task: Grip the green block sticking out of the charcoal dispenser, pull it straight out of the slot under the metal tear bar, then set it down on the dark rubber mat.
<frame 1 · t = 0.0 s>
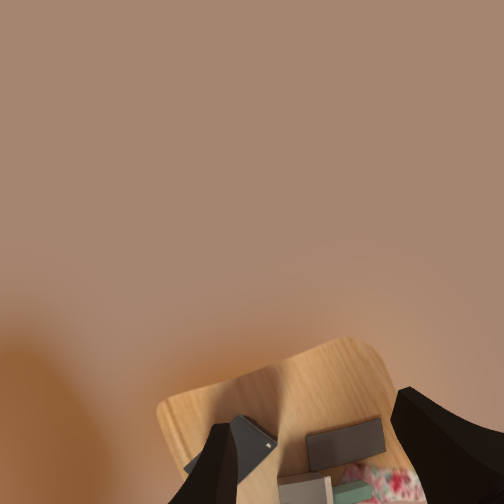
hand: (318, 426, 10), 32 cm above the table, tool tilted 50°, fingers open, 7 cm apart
green block: (329, 493, 28), resting in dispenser
small box: (239, 450, 34), on the table
mat: (346, 445, 33), on the table
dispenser: (300, 500, 28), on the table
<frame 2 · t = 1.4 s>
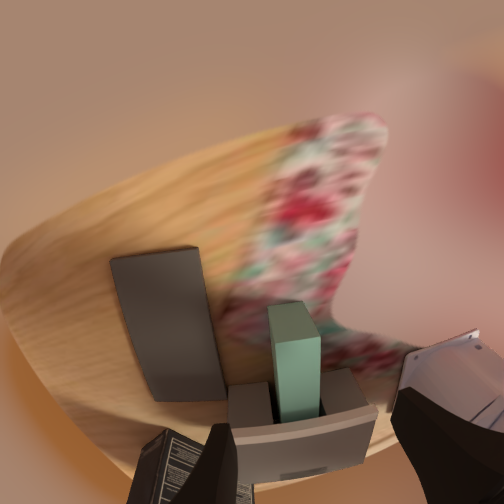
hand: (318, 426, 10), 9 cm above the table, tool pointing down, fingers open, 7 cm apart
green block: (288, 362, 20), resting in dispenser
small box: (196, 458, 23), on the table
mat: (172, 335, 19), on the table
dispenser: (291, 404, 21), on the table
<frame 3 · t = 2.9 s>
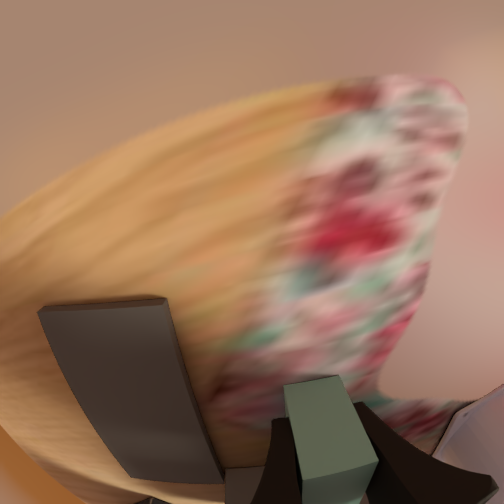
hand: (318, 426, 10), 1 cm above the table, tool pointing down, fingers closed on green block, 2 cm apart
green block: (310, 445, 12), resting in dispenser, touching gripper
mat: (141, 415, 11), on the table
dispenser: (308, 480, 13), on the table
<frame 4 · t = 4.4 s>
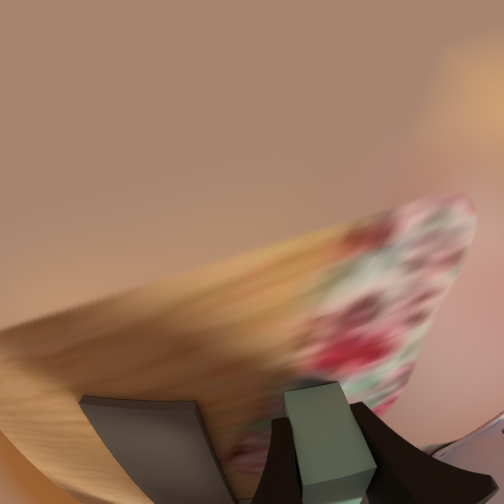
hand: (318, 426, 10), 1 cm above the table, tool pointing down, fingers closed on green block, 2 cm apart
green block: (310, 449, 12), resting in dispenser, touching gripper
mat: (171, 467, 12), on the table
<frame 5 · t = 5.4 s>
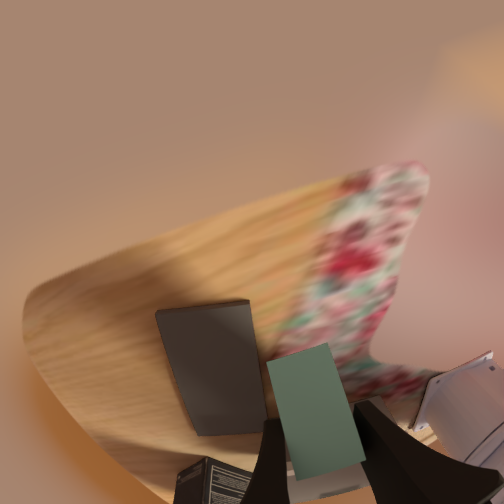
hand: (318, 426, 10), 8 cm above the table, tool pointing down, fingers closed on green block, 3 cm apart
green block: (308, 380, 14), point 5 cm above the table, tilted 34°, touching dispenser, gripper
small box: (231, 479, 23), on the table
mat: (219, 379, 19), on the table
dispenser: (326, 429, 21), on the table
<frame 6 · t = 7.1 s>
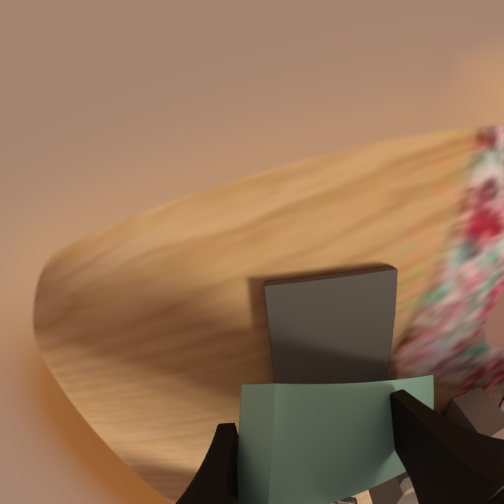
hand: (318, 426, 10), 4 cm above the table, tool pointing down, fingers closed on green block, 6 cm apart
green block: (358, 384, 11), point 2 cm above the table, tilted 48°, touching gripper, mat
mat: (331, 380, 13), on the table
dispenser: (423, 432, 15), on the table
when the fingers open (4 cm above the table, at t = 8.2 s): green block drops 1 cm and tips over, resting on mat.
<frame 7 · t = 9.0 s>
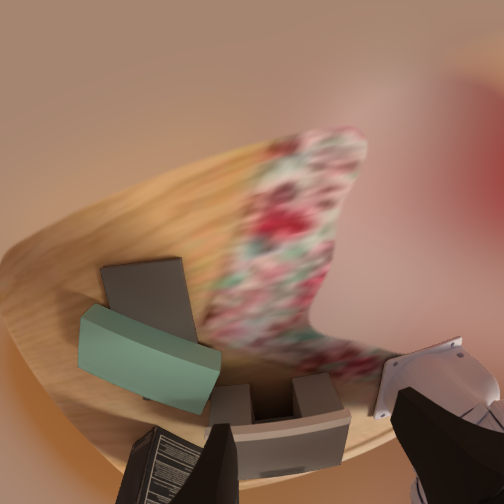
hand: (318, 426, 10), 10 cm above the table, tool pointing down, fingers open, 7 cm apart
green block: (151, 337, 18), point 2 cm above the table, tilted 90°, touching mat
small box: (184, 455, 24), on the table
mat: (158, 338, 20), on the table
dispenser: (272, 405, 22), on the table
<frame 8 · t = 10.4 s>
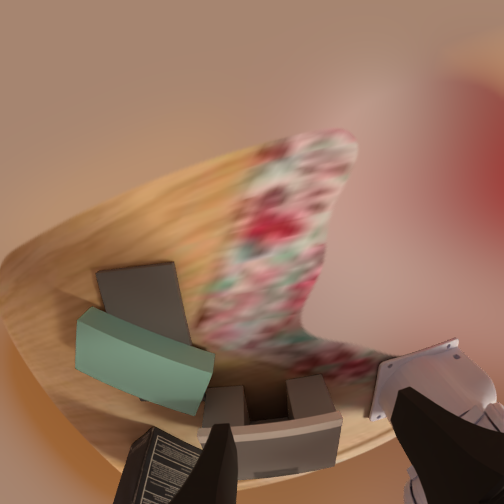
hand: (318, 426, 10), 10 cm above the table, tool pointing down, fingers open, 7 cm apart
green block: (146, 339, 18), point 2 cm above the table, tilted 90°, touching mat
small box: (182, 455, 24), on the table
mat: (153, 341, 20), on the table
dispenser: (267, 406, 22), on the table
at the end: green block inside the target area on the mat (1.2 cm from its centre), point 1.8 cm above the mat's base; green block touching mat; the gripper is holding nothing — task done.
